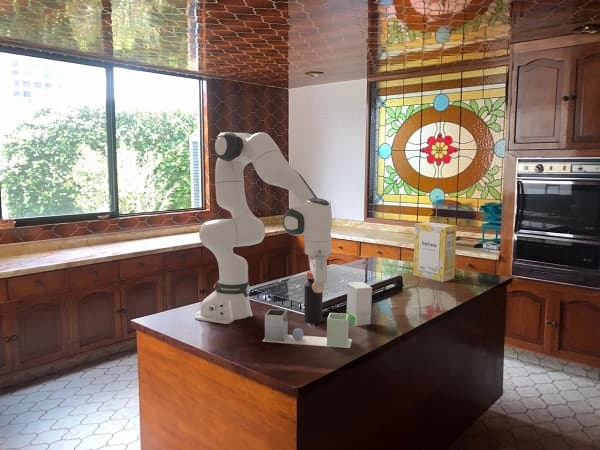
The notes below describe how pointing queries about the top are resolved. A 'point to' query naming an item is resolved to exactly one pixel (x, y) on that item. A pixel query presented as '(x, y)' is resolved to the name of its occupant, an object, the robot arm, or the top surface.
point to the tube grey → (276, 325)
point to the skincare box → (359, 303)
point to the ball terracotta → (315, 287)
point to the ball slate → (297, 333)
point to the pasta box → (435, 251)
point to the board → (310, 341)
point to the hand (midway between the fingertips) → (317, 289)
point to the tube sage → (337, 329)
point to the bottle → (312, 302)
